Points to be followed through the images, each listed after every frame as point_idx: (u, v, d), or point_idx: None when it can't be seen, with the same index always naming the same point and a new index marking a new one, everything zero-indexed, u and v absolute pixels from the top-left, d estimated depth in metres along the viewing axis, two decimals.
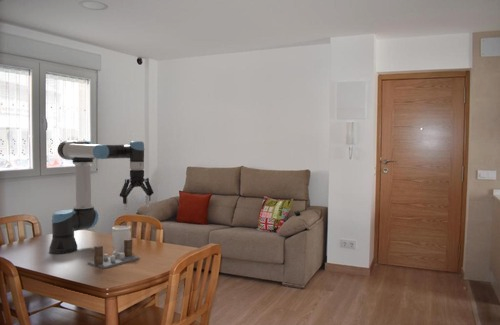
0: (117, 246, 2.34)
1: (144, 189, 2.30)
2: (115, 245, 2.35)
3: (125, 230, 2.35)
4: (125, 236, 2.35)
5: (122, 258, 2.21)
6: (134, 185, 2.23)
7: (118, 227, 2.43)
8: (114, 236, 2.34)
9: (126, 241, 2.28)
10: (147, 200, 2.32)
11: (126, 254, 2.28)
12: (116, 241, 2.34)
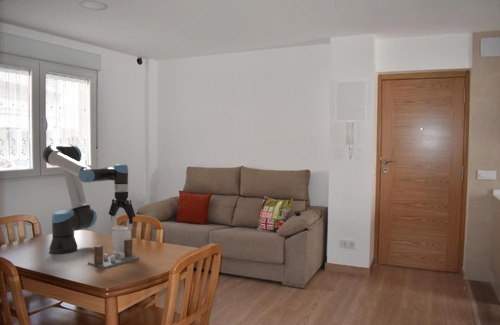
0: (117, 246, 2.34)
1: None
2: (115, 245, 2.35)
3: (125, 230, 2.35)
4: (125, 236, 2.35)
5: (122, 258, 2.21)
6: (116, 205, 2.38)
7: (118, 227, 2.43)
8: (114, 236, 2.34)
9: (126, 241, 2.28)
10: None
11: (126, 254, 2.28)
12: (116, 241, 2.34)
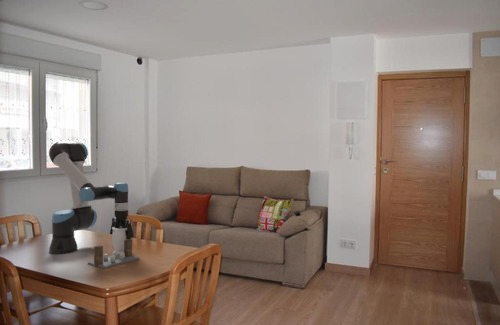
0: (117, 246, 2.34)
1: (125, 230, 2.36)
2: (115, 245, 2.35)
3: None
4: (125, 236, 2.35)
5: (122, 258, 2.21)
6: (116, 224, 2.39)
7: None
8: (114, 236, 2.34)
9: (126, 241, 2.28)
10: None
11: (126, 254, 2.28)
12: (116, 241, 2.34)
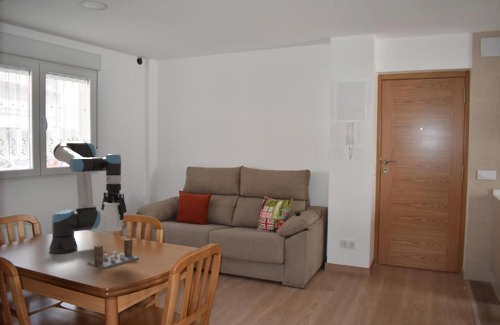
0: (109, 222, 2.16)
1: None
2: (107, 221, 2.17)
3: (117, 205, 2.17)
4: (117, 211, 2.17)
5: (122, 258, 2.21)
6: (107, 199, 2.20)
7: None
8: (106, 211, 2.16)
9: (126, 241, 2.28)
10: None
11: (126, 254, 2.28)
12: (108, 217, 2.16)
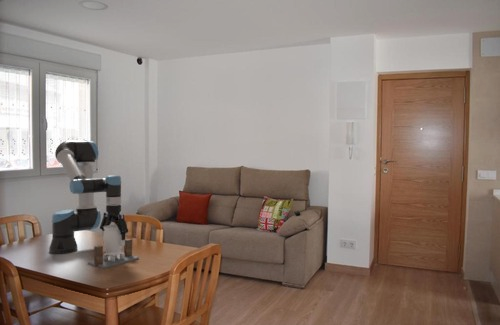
0: (109, 246, 2.17)
1: None
2: (107, 245, 2.17)
3: (117, 229, 2.17)
4: (117, 235, 2.17)
5: (122, 258, 2.21)
6: (107, 220, 2.21)
7: (110, 226, 2.25)
8: (105, 236, 2.17)
9: (126, 241, 2.28)
10: None
11: (126, 254, 2.28)
12: (108, 241, 2.16)
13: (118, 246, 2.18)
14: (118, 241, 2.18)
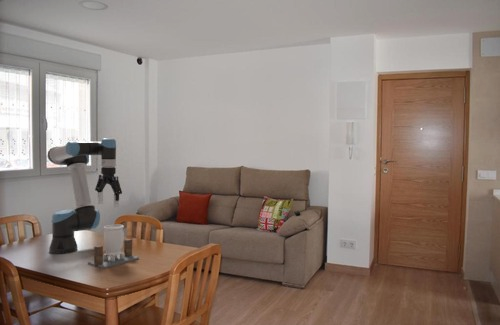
0: (109, 246, 2.17)
1: None
2: (107, 245, 2.17)
3: (117, 229, 2.17)
4: (117, 235, 2.17)
5: (122, 258, 2.21)
6: (102, 181, 2.29)
7: (110, 226, 2.25)
8: (105, 236, 2.17)
9: (126, 241, 2.28)
10: None
11: (126, 254, 2.28)
12: (108, 241, 2.16)
13: (118, 246, 2.18)
14: (118, 241, 2.18)
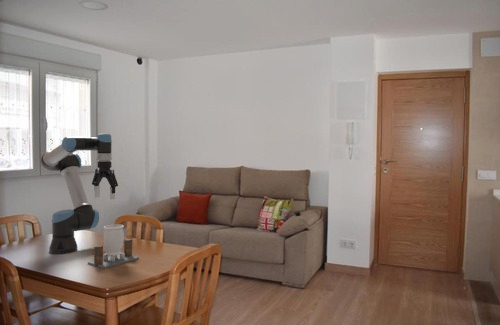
0: (109, 246, 2.17)
1: None
2: (107, 245, 2.17)
3: (117, 229, 2.17)
4: (117, 235, 2.17)
5: (122, 258, 2.21)
6: (98, 175, 2.37)
7: (110, 226, 2.25)
8: (105, 236, 2.17)
9: (126, 241, 2.28)
10: None
11: (126, 254, 2.28)
12: (108, 241, 2.16)
13: (118, 246, 2.18)
14: (118, 241, 2.18)
